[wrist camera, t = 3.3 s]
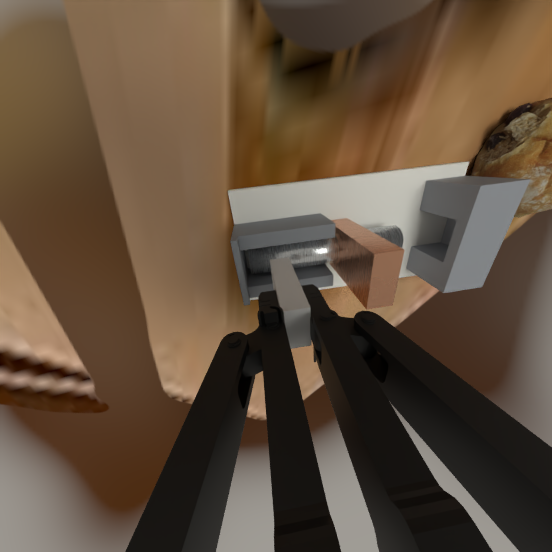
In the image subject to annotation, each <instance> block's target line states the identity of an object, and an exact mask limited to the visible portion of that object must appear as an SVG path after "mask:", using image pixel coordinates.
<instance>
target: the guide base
mask: <svg viewBox="0 0 552 552" xmlns="http://www.w3.org/2000/svg"><path fill="white" fill-rule="evenodd" d="M468 165H469V162H455V163H447V164H439V165H430V166H422V167H414V168H406V169H397V170H389V171H381V172H373V173H364V174H356V175H348V176H339V177H331V178H323V179H315V180H306V181H298V182H290V183H282V184H273V185H265V186H257V187H249V188H240V189H232V190H228V195H229V200H230V205H231V210H232V215H233V220H234V228H233V232H232V237H231V241H230V242H231V247H232V251H233V256H234V260H235V265H236V270H237V274H238V279H239V283H240V288H241V293H242V297H243V302H244V305H250V300H256V299H258V297H259V295H260V293H261V292H266V291H272V290H274V289H273V282H272V274H271V272H264V273H257V274H252V273H251V269H250V264H249V257H248V249H255V248H262V247H270V246H277V245H284V244H292V243H299V242H306V241H313V240H321V239H328V238H335V223H334V222H333V221H331V220H336V219H344V218H348V219H350V220H351V221H353V222H355V223H357V224H359V225H361V226H362V227H364V228H366V229H368V228H376V227H383V226H390V225H396V226H398V227H399V228H400V229H401V231H402V234H403V246H402V249H404V250H405V251H404V255H403V260H402V265H401V269H400V274H399V278H401V277H408V276H415V275H417V276H418V277H420V278H421V279H423V280H424V281H426V282H427V283H429V284H430V285H432V286H433V287H435V288H437V289H438V290H440V291H441V292H443V293H446V292H453V291H459V290H466V289H472V288H478V287H482V286H483V283H484V281H485V279H486V277H487V275H488V272H489V270H490V268H491V266H492V263H493V261H494V259H495V257H496V255H497V252H498V250H499V248H500V246H501V244H502V241H503V239H504V237H505V235H506V233H507V230H508V228H509V226H510V224H511V222H512V219H513V217H514V215H515V213H516V210H517V208H518V206H519V204H520V202H521V199H522V197H523V195H524V193H525V191H526V188H527V186H528V184H529V182H530V180H531V179H515V178H497V177H479V176H465V174H466V171H467V168H468ZM294 271H295V273H296V275H297V278H298V280H299V282H300V284H301V286H302V285H309V284H313V285H315V286H316V287H318V289H319V290H322V289H328V288H335V287H342V286H347V285H346V283H345V282H344V281H343V280H342V279H341V277H340V276H339V275H338V274H337V272H336V271H335V270H334V269H333V267H332V266H331V265H330V264H329V263H327V264H320V265H313V266H306V267H299V268H294Z"/></svg>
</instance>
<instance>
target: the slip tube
mask: <svg viewBox="0 0 552 552" xmlns="http://www.w3.org/2000/svg"><path fill="white" fill-rule="evenodd" d="M331 221H333V222H334V223H335V238H328V239H321V240H313V241H306V242H299V243H292V244H284V245H277V246H270V247H262V248H255V249H248V257H249V264H250V269H251V273H252V274H257V273H264V272H271V266H270V260H271V259H278V258H285V257H289V259H290V262H291V264H292V266H293V268H299V267H306V266H313V265H320V264H327V263H329V264H330V265H331V266H332V267H333V269H334V270H335V271H336V272H337V274H338V275H339V276H340V277H341V279H342V280H343V281H344V282H345V283H346V285H347V286H348V287H349V288H350V290H351V291H352V292H353V293H354V295H355V296H356V297H357V298H358V299H359V301H360V302H361V303H362V304H363V306H364V307H365V308H366V309H372V308H379V307H385V306H391V305H393V302H394V297H395V292H396V288H397V283H398V278H399V274H400V269H401V265H402V260H403V255H404V251H405V250H404V249H402V246H403V234H402V231H401V229H400V228H399V227H398V226H396V225H390V226H383V227H376V228H368V229H366V228H364V227H362V226H361V225H359V224H357V223H355V222H353V221H351V220H350V219H348V218H344V219H336V220H331Z"/></svg>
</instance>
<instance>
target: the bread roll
mask: <svg viewBox="0 0 552 552" xmlns="http://www.w3.org/2000/svg"><path fill="white" fill-rule="evenodd" d="M470 176H479V177H497V178H515V179H531V180H530V182H529V184H528V186H527V188H526V191H525V193H524V195H523V197H522V199H521V202H520V204H519V206H518V208H517V210H516V213H515V215H514V217H522V216H525V215H528V214H532V213H536V212H541V211H546V210H549V209H552V98H549V99H546V100H542V101H537V102H534V103H532V104H530V103H528V104H524V105H522V106H519V107H518V108H516V109H515V110H514V111H512V112H511V113H510V115H509V117H508V118H507V119H506V121H505V122H504V123H502V124H501V125H499V126H498V127H497V128H496V129H495V130H494V131H493V133H492V134H491V136H490V137H489V138H488V139H487V140H486V142H485V144H484V146H483V148H482V149H481V151H480V152H479V154H478V156H477V158H476V160H475V164H474V167H473V169H472V172H471V174H470Z"/></svg>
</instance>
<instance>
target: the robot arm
mask: <svg viewBox="0 0 552 552" xmlns="http://www.w3.org/2000/svg"><path fill="white" fill-rule="evenodd" d="M270 266H271V274H272V282H273V289H274V290H272V291H266V292H261V293H260V295H259V297H258V300H259V311H258V320H259V327H258V328H257V329H256V330H255V331H254V332H252V333H250V334H248V335H245V334H244V333H242V332H233V333H230V334H228V335H226V336H225V337H224V338H223V339H222V341H221V342H220V345H219V347H218V349H217V351H216V353H215V356H214V358H213V360H212V362H211V364H210V367H209V369H208V371H207V373H206V375H205V378H204V380H203V382H202V384H201V387H200V389H199V391H198V393H197V395H196V398H195V400H194V402H193V404H192V406H191V409H190V411H189V413H188V415H187V418H186V420H185V422H184V424H183V426H182V429H181V431H180V433H179V435H178V437H177V439H176V442H175V444H174V446H173V448H172V450H171V453H170V455H169V457H168V459H167V461H166V464H165V466H164V468H163V471H162V472H161V475H160V477H159V479H158V481H157V483H156V486H155V488H154V490H153V492H152V495H151V497H150V499H149V501H148V503H147V505H146V508H145V510H144V512H143V514H142V516H141V519H140V521H139V523H138V525H137V528H136V530H135V532H134V534H133V536H132V539H131V541H130V543H129V545H128V547H127V549H126V552H216V548H217V543H218V539H219V535H220V530H221V526H222V521H223V517H224V512H225V508H226V503H227V499H228V495H229V490H230V486H231V481H232V477H233V472H234V468H235V464H236V459H237V455H238V450H239V446H240V441H241V437H242V432H243V428H244V424H245V419H246V415H247V410H248V406H249V401H250V397H251V393H252V388H253V384H254V379H255V374H257V373H259V372H261V371H263V377H264V390H265V404H266V417H267V430H268V443H269V456H270V469H271V483H272V497H273V510H274V550H275V552H341V549H340V545H339V541H338V538H337V534H336V530H335V527H334V524H333V521H332V518H331V516H330V512H329V509H328V505H327V501H326V497H325V493H324V488H323V484H322V480H321V476H320V471H319V467H318V463H317V458H316V454H315V450H314V446H313V442H312V437H311V433H310V429H309V424H308V420H307V416H306V412H305V407H304V403H303V399H302V395H301V390H300V386H299V382H298V378H297V373H296V369H295V365H294V360H293V356H292V352H291V349H292V348H298V347H304V346H310V345H311V340H312V342H313V345H314V362H316V360H317V363H318V366H319V369H320V372H321V375H322V378H323V381H324V383H325V386H326V389H327V392H328V395H329V398H330V401H331V404H332V407H333V409H334V412H335V415H336V418H337V421H338V424H339V427H340V430H341V433H342V436H343V438H344V441H345V444H346V447H347V450H348V453H349V456H350V459H351V461H352V464H353V467H354V470H355V473H356V476H357V479H358V482H359V485H360V488H361V490H362V493H363V496H364V499H365V502H366V505H367V508H368V511H369V513H370V517H371V519H372V522H373V526H374V529H375V533H376V538H377V544H378V548H379V552H493V551H492V550H491V548H490V547H489V545H488V544H487V542H486V540H485V539H484V537H483V536H482V534H481V532H480V531H479V529H478V528H477V526H476V525H475V523H474V521H473V520H472V518H471V517H470V516H469V514H468V513H467V511H466V510H465V509H464V507H463V506H462V505H461V504H460V503H459V502H458V501H457V500H456V499H455V498H454V497H453V496H451V495H450V494H448V493H447V492H445V491H444V490H443V489H442V488H441V487H440V486H439V484H438V483H437V481H436V480H435V478H434V476H433V475H432V473H431V471H430V470H429V468H428V466H427V465H426V463H425V461H424V460H423V458H422V456H421V454H420V453H419V451H418V450H417V448H416V446H415V444H414V443H413V441H412V439H411V438H410V436H409V434H408V433H407V431H406V429H405V428H404V426H403V424H402V422H401V421H400V419H399V417H398V416H397V414H396V412H395V411H394V409H393V407H392V405H393V406H394V407H395V408H396V409H397V411H398V412H399V413H400V414H401V415H402V416H403V417H404V419H405V420H406V421H407V422H408V423H409V424H410V426H411V427H412V428H413V429H414V430H415V431H416V432H417V434H418V435H419V436H420V437H421V438H422V439H423V441H424V442H425V443H426V444H427V445H428V446H429V447H430V449H431V450H432V451H433V452H434V453H435V454H436V456H437V457H438V458H439V459H440V460H441V461H442V462H443V464H444V465H445V466H446V467H447V468H448V469H449V471H450V472H451V473H452V474H453V475H454V476H455V478H457V480H458V481H459V482H460V483H461V484H462V486H463V487H464V488H465V489H466V490H467V491H468V492H469V494H470V495H471V496H472V497H473V498H474V499H475V501H476V502H477V503H478V504H479V505H480V506H481V507H482V509H483V510H484V511H485V512H486V513H487V514H488V516H489V517H490V518H491V519H492V520H493V521H494V522H495V524H496V525H497V526H498V527H499V528H500V529H501V530H502V532H503V533H504V534H505V535H506V536H507V538H508V539H509V540H510V541H511V542H512V543H513V544H514V546H515V547H516V548H517V549H518V550H519V551H520V552H552V447H550V446H549V445H548V444H546V443H545V442H544V441H542V440H541V439H540V438H539V437H537V436H536V435H535V434H533V433H532V432H531V431H529V430H528V429H527V428H525V427H524V426H523V425H522V424H520V423H519V422H518V421H516V420H515V419H514V418H512V417H511V416H510V415H508V414H507V413H506V412H505V411H503V410H502V409H500V408H499V407H498V406H497V405H495V404H494V403H493V402H491V401H490V400H489V399H488V398H486V397H485V396H484V395H482V394H481V393H479V392H478V391H477V390H476V389H474V388H473V387H472V386H471V385H469V384H468V383H467V382H465V381H464V380H463V379H461V378H460V377H459V376H457V375H456V374H455V373H454V372H452V371H451V370H450V369H448V368H447V367H446V366H444V365H443V364H442V363H440V362H439V361H438V360H436V359H435V358H434V357H433V356H431V355H430V354H429V353H427V352H426V351H425V350H423V349H422V348H421V347H419V346H418V345H417V344H416V343H414V342H413V341H412V340H410V339H409V338H408V337H406V336H405V335H404V334H403V333H401V332H400V331H399V330H397V329H396V328H395V327H393V326H392V325H391V324H389V323H388V322H387V321H386V320H384V319H383V318H382V317H380V316H379V315H377V314H376V313H373V312H370V311H361V312H358V313H356V315H355V316H354V318H346V317H340V316H338V314H337V313H336V312H335V311H333V310H330V308H329V307H328V305H327V303H326V301H325V300H324V298H323V297H322V294H321V293H320V291H319V289H318V287H316V286H315V285H313V284H309V285H302V286H301V284H300V282H299V280H298V278H297V275H296V273H295V271H294V268H293V266H292V264H291V262H290V259H289V257H285V258H278V259H271V260H270ZM389 401H390V402H391V404H392V405H391V404H390V402H389Z"/></svg>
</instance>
